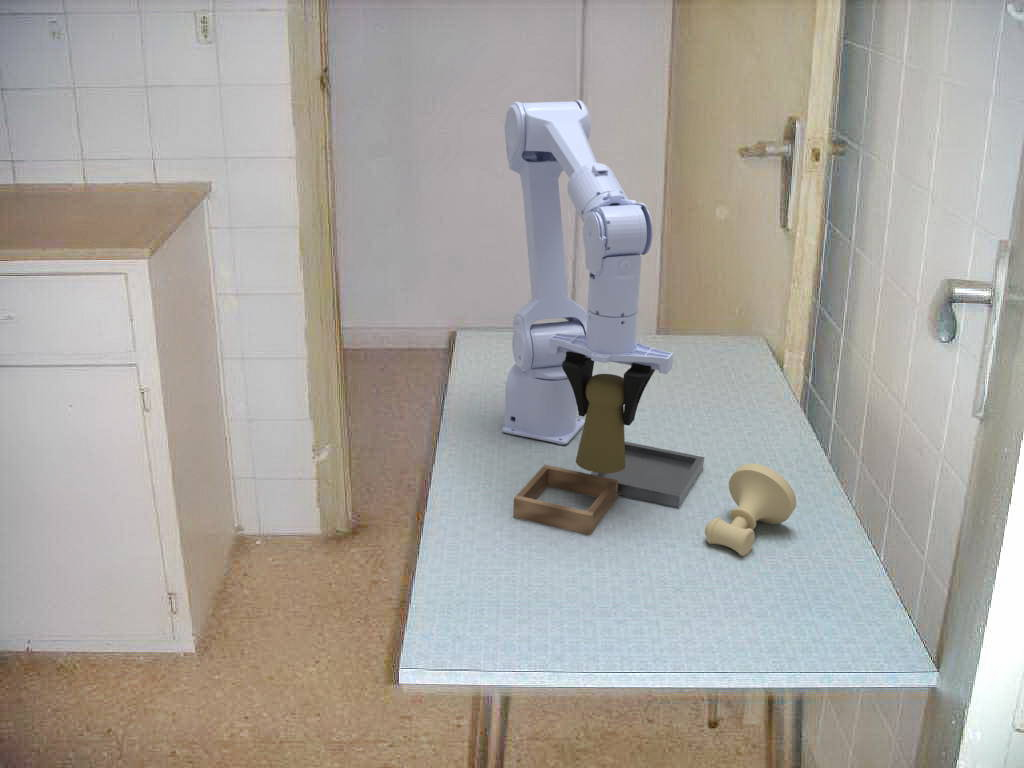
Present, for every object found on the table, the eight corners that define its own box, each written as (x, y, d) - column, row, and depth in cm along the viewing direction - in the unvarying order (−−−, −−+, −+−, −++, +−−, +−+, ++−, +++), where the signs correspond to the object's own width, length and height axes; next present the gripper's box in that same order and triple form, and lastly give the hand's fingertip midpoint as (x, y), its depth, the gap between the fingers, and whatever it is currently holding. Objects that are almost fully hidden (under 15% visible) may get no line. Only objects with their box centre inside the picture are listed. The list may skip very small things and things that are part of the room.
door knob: (754, 532, 116) (689, 508, 121) (758, 582, 121) (695, 558, 125) (795, 475, 122) (731, 455, 126) (797, 526, 127) (735, 504, 131)
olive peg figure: (634, 462, 132) (643, 376, 128) (610, 477, 127) (619, 388, 123) (591, 449, 135) (599, 365, 131) (566, 463, 130) (573, 376, 126)
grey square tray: (587, 488, 135) (588, 476, 134) (617, 450, 144) (618, 440, 144) (678, 508, 130) (679, 496, 130) (703, 468, 140) (704, 457, 140)
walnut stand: (513, 516, 128) (513, 498, 127) (544, 482, 136) (544, 464, 135) (590, 535, 124) (591, 515, 123) (617, 498, 132) (618, 480, 131)
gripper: (540, 309, 123) (537, 418, 129) (663, 330, 118) (654, 442, 123) (563, 292, 129) (559, 397, 134) (681, 311, 124) (672, 419, 129)
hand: (606, 417), depth 129 cm, fingers closed on olive peg figure, 5 cm apart
